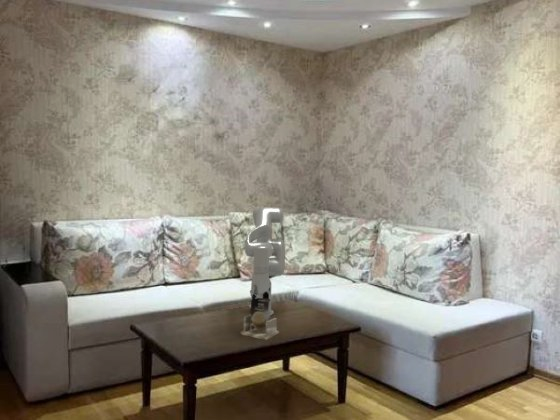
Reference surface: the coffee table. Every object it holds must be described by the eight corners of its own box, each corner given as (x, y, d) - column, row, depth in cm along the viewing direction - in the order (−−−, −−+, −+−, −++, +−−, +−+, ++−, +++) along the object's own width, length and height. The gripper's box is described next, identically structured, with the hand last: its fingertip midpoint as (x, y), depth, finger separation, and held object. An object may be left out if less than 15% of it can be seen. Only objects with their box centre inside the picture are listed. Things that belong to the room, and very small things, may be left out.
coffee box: (249, 332, 250) (250, 300, 249) (252, 328, 257) (252, 297, 255) (267, 333, 249) (268, 301, 248) (270, 329, 255) (270, 298, 254)
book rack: (240, 334, 251) (240, 318, 251) (254, 327, 262) (254, 312, 261) (266, 340, 244) (266, 323, 243) (279, 333, 254) (279, 317, 253)
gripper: (264, 266, 259) (263, 298, 261) (244, 272, 244) (244, 306, 246) (276, 268, 255) (276, 301, 257) (257, 274, 241) (257, 309, 242)
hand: (260, 304), depth 252 cm, fingers open, 9 cm apart
